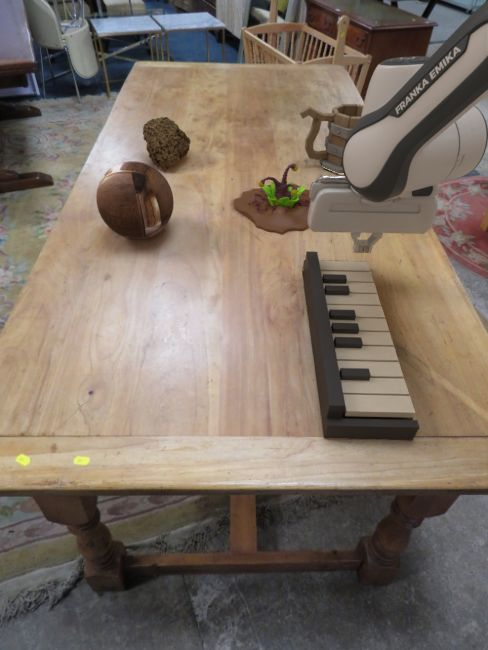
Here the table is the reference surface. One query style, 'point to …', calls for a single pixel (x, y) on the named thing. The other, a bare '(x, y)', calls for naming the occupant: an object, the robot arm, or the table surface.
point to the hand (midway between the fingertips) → (361, 251)
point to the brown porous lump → (165, 142)
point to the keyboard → (352, 352)
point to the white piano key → (378, 406)
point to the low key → (344, 266)
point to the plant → (276, 205)
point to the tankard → (331, 133)
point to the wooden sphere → (134, 200)
